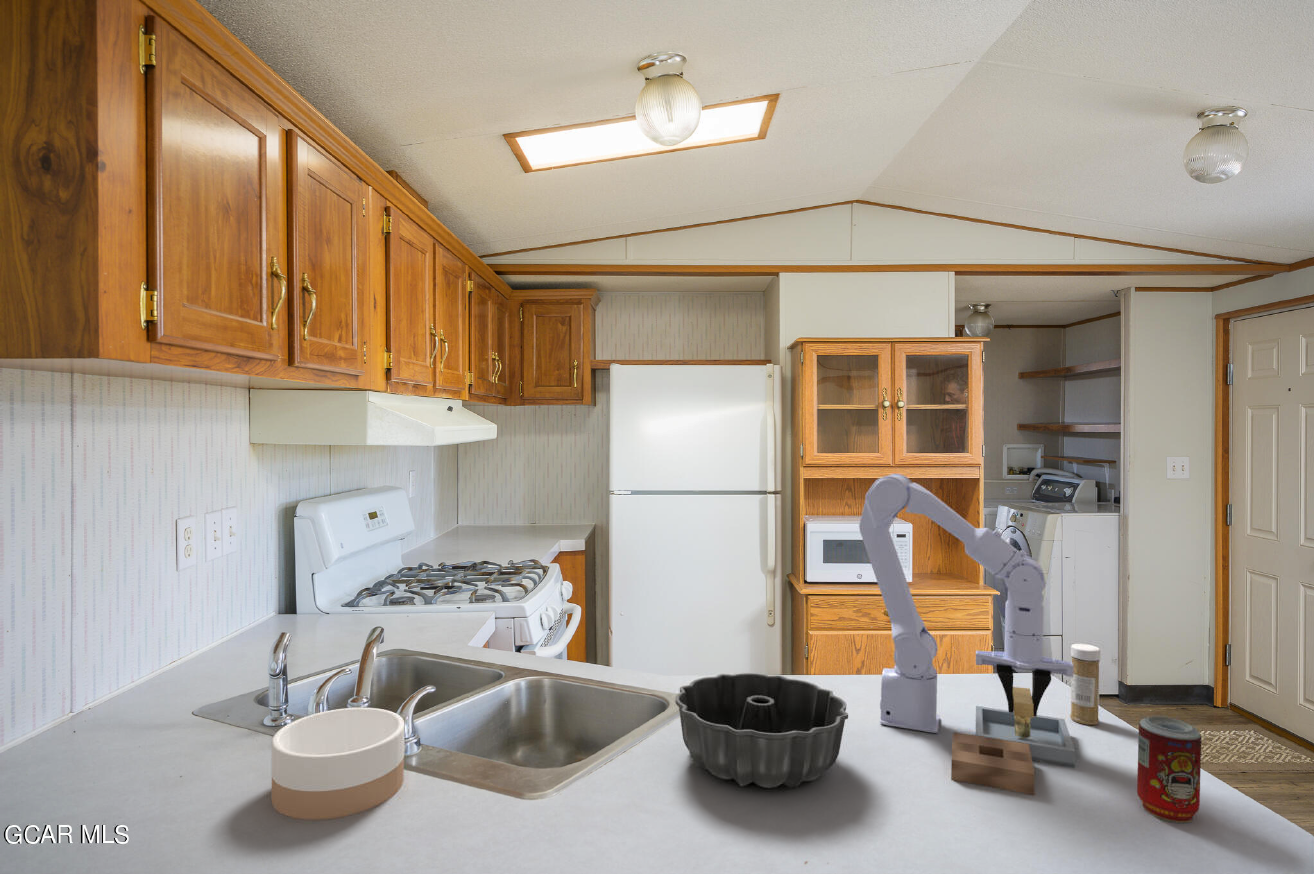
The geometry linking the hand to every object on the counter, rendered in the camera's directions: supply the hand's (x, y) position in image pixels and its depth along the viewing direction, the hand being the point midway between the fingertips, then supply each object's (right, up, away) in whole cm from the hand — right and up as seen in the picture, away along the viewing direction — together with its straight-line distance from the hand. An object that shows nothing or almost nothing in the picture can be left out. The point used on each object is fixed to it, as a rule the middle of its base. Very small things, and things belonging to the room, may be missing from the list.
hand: (1022, 712), depth 123 cm
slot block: (-10, -5, -11) cm, 16 cm away
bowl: (-106, -4, -19) cm, 108 cm away
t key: (0, -4, 0) cm, 4 cm away
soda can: (+9, -6, -22) cm, 25 cm away
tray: (0, -5, 0) cm, 5 cm away
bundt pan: (-45, -5, -9) cm, 46 cm away
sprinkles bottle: (+16, -5, +10) cm, 19 cm away
